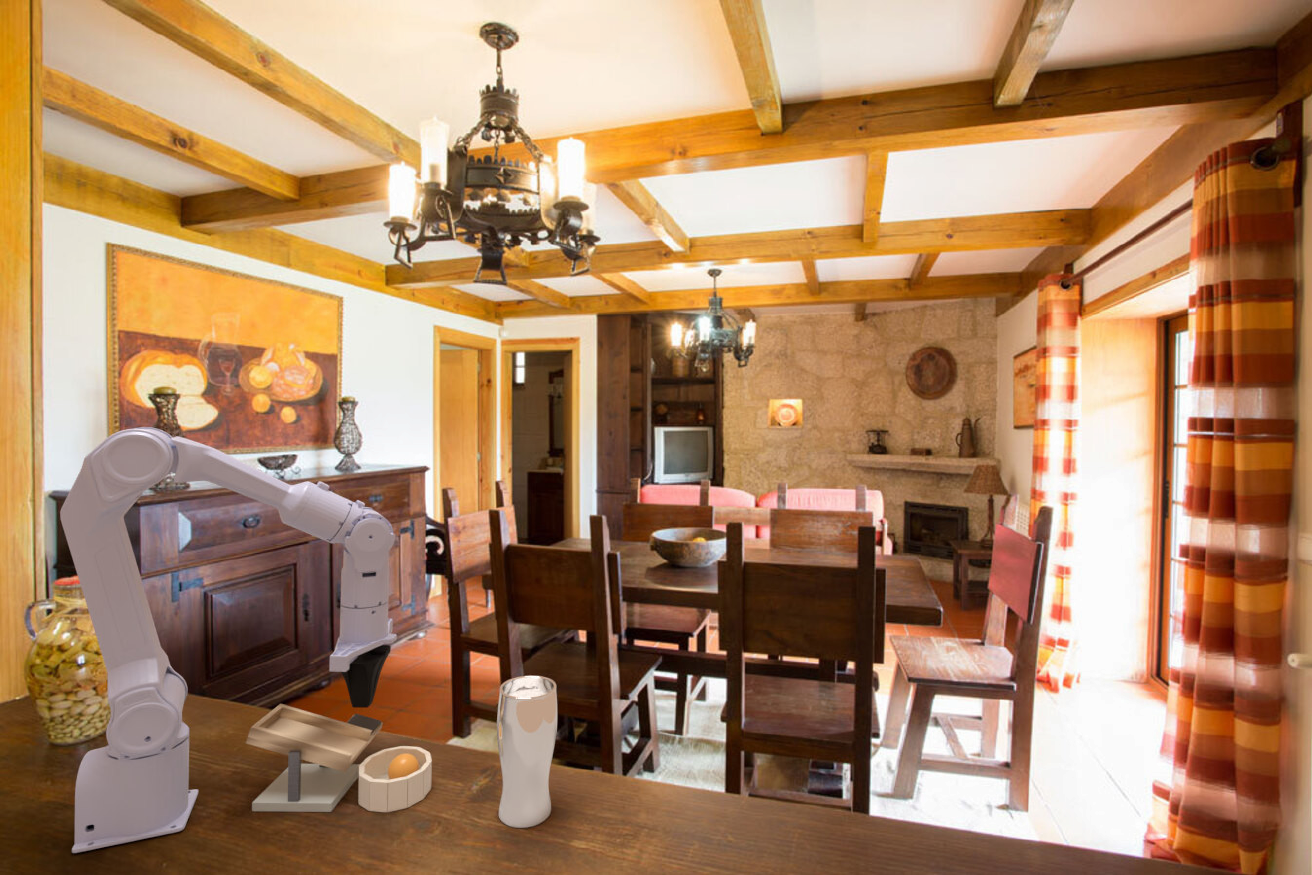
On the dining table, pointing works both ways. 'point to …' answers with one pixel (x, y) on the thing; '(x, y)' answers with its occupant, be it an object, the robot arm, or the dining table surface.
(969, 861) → the dining table surface
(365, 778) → the cup
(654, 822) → the dining table surface
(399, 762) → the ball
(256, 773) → the dining table surface
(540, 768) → the beer glass
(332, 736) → the tilting wooden tray
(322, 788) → the stand
